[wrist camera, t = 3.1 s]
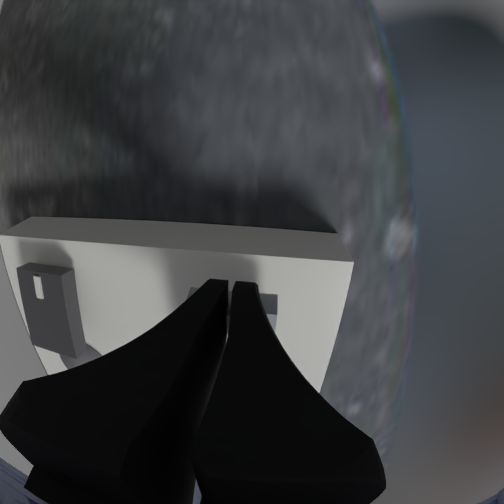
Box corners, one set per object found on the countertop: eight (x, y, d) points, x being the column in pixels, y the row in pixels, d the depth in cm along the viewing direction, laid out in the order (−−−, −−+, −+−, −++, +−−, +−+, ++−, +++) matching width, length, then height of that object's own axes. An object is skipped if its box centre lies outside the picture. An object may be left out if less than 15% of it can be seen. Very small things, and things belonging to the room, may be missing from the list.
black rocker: (87, 348, 12) (76, 360, 11) (43, 336, 12) (31, 345, 11) (74, 268, 11) (59, 276, 10) (29, 262, 11) (15, 268, 10)
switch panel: (306, 384, 17) (309, 424, 14) (67, 347, 18) (46, 376, 15) (338, 233, 13) (355, 264, 10) (31, 216, 14) (-4, 236, 11)
